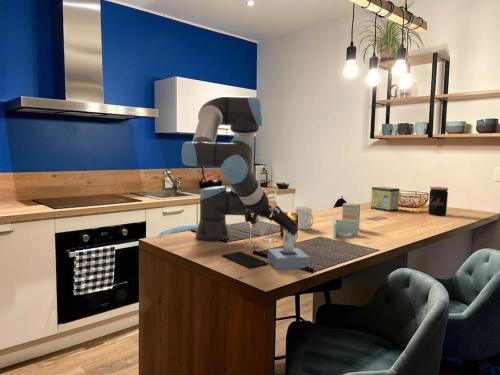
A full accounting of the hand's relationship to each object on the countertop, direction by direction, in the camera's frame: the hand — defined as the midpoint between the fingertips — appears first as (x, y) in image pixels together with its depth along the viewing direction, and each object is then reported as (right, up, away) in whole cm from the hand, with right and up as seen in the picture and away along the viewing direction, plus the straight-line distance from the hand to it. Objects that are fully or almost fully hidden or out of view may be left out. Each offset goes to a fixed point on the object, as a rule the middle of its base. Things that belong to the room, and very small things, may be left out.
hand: (279, 235), depth 134 cm
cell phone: (-12, -11, +9) cm, 19 cm away
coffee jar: (+113, -1, +119) cm, 164 cm away
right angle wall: (+36, -7, +51) cm, 63 cm away
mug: (+18, -5, +66) cm, 69 cm away
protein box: (+84, +1, +134) cm, 158 cm away
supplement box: (+43, -5, +70) cm, 82 cm away
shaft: (+3, -11, +6) cm, 13 cm away
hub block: (+4, -11, +6) cm, 13 cm away
